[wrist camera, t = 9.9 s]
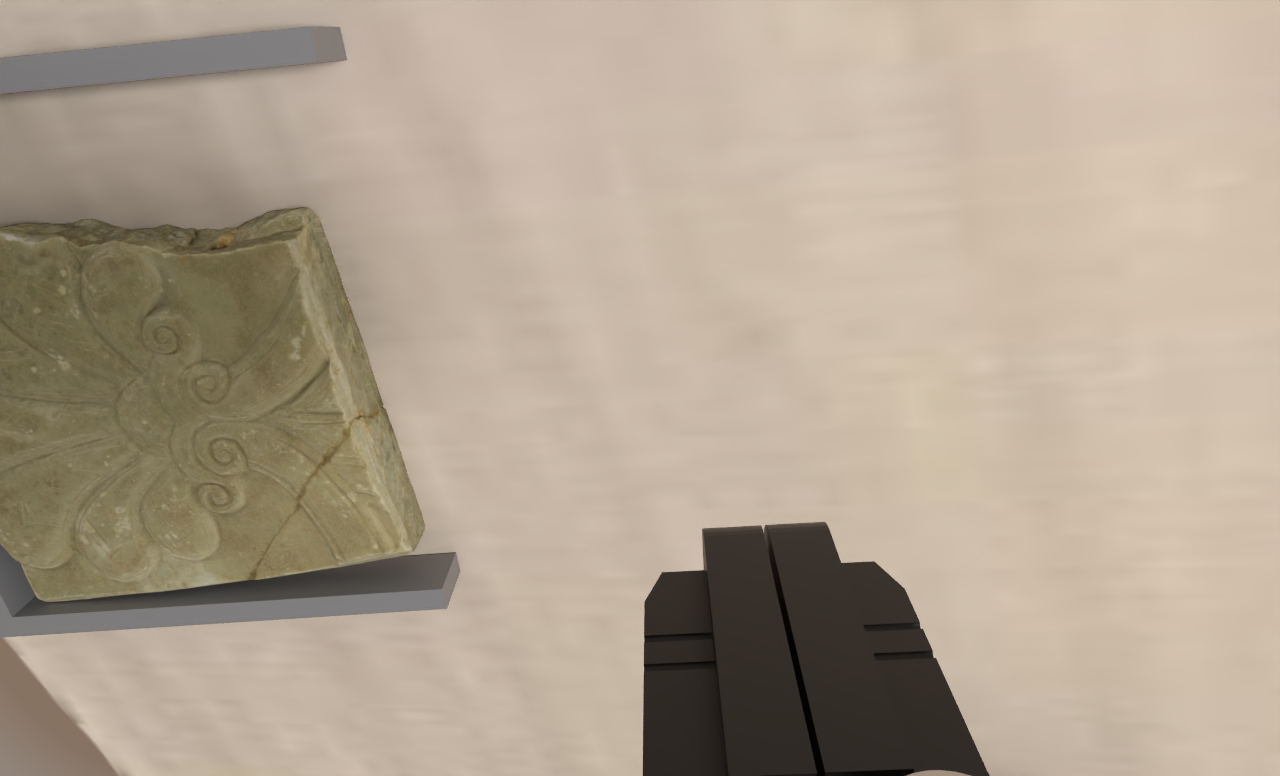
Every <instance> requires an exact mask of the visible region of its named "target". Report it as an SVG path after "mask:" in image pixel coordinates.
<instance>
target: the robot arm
mask: <svg viewBox="0 0 1280 776" xmlns="http://www.w3.org/2000/svg"><path fill="white" fill-rule="evenodd" d="M702 538H703V561H704V570H702V571H682V572H662V574H661V575H660V577H659V579H658V580H657V582H656V584H655V585H654V587H653V589H652V590H651V592H650V594H649V595H648V597H647V599H646V600H645V617H644V639H645V642H644V715H643V776H989V774H988V772H987V770H986V768H985V765H984V763H983V761H982V759H981V757H980V754H979V752H978V750H977V748H976V746H975V743H974V741H973V739H972V737H971V734H970V732H969V730H968V728H967V726H966V723H965V721H964V719H963V717H962V715H961V712H960V710H959V708H958V706H957V704H956V701H955V699H954V697H953V695H952V692H951V690H950V688H949V686H948V684H947V681H946V679H945V677H944V675H943V673H942V670H941V668H940V666H939V664H938V662H937V659H936V658H934V657H933V650H932V648H931V646H930V644H929V642H928V639H927V637H926V635H925V633H924V631H923V629H921V628H920V622H919V619H918V617H917V615H916V613H915V611H914V608H913V606H912V604H911V602H910V600H909V597H908V595H907V593H906V591H905V589H904V588H903V587H902V586H901V585H900V584H899V583H898V582H896V581H895V580H894V579H893V578H892V577H891V576H890V575H889V574H888V573H886V572H885V571H884V570H883V569H882V568H881V567H880V566H879V565H878V564H876V563H875V562H855V563H841V561H840V558H839V556H838V553H837V550H836V547H835V544H834V542H833V539H832V536H831V533H830V530H829V528H828V525H827V524H826V523H825V522H815V523H796V524H777V525H765V528H764V533H763V529H762V527H761V526H744V527H725V528H706V529H702Z"/></svg>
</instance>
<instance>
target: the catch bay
mask: <svg viewBox="0 0 1280 776" xmlns="http://www.w3.org/2000/svg"><path fill="white" fill-rule="evenodd" d="M341 60H347V58H346V53H345V49H344V44H343V40H342V35H341V31H340V27H301V28H291V29H282V30H272V31H262V32H252V33H242V34H232V35H222V36H212V37H202V38H193V39H183V40H173V41H163V42H153V43H143V44H133V45H123V46H113V47H104V48H94V49H84V50H74V51H64V52H54V53H44V54H34V55H24V56H15V57H5V58H0V94H7V93H17V92H27V91H37V90H47V89H57V88H67V87H77V86H88V85H98V84H108V83H118V82H128V81H138V80H148V79H158V78H169V77H179V76H189V75H199V74H209V73H219V72H229V71H239V70H249V69H260V68H270V67H280V66H290V65H300V64H310V63H320V62H330V61H341ZM459 573H460V569H459V565H458V560H457V555H456V553H444V554H429V555H414V556H400V557H393V558H387V559H381V560H376V561H370V562H365V563H359V564H354V565H349V566H343V567H338V568H329V569H323V570H317V571H311V572H305V573H298V574H292V575H286V576H280V577H273V578H266V579H260V580H245V581H238V582H231V583H223V584H216V585H208V586H201V587H194V588H186V589H179V590H171V591H163V592H151V593H138V594H128V595H119V596H109V597H100V598H92V599H80V600H70V601H58V602H45V601H43V600H40V599H38V598H37V596H36V595H35V593H34V591H33V589H32V587H31V585H30V583H29V581H28V579H27V577H26V575H25V573H24V570H23V568H22V565H21V563H20V562H18V561H16V560H15V559H14V558H13V557H12V556H11V555H10V554H9V553H8V552H7V550H6V549H5V548H4V547H3V546H2V545H1V543H0V637H15V636H30V635H46V634H61V633H77V632H92V631H108V630H123V629H139V628H154V627H170V626H185V625H201V624H216V623H232V622H247V621H263V620H279V619H294V618H310V617H325V616H341V615H356V614H372V613H387V612H403V611H418V610H434V609H447V607H448V604H449V601H450V598H451V595H452V592H453V590H454V587H455V584H456V581H457V578H458V576H459Z"/></svg>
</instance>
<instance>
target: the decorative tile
mask: <svg viewBox="0 0 1280 776" xmlns="http://www.w3.org/2000/svg"><path fill="white" fill-rule="evenodd" d="M424 529H425V524H424V520H423V517H422V514H421V510H420V508H419V505H418V502H417V499H416V496H415V493H414V490H413V487H412V485H411V482H410V480H409V477H408V474H407V471H406V468H405V464H404V461H403V458H402V455H401V451H400V448H399V445H398V443H397V440H396V437H395V434H394V431H393V428H392V426H391V423H390V421H389V418H388V415H387V412H386V409H385V408H383V402H382V399H381V396H380V393H379V390H378V387H377V384H376V381H375V378H374V375H373V372H372V368H371V365H370V362H369V358H368V355H367V352H366V349H365V346H364V343H363V340H362V337H361V334H360V332H359V329H358V326H357V324H356V321H355V318H354V315H353V313H352V310H351V307H350V304H349V302H348V299H347V296H346V293H345V291H344V288H343V285H342V282H341V278H340V275H339V272H338V269H337V267H336V264H335V261H334V258H333V255H332V252H331V249H330V246H329V244H328V241H327V239H326V236H325V233H324V230H323V227H322V224H321V222H320V219H319V217H318V216H317V215H316V214H315V213H314V212H313V211H312V210H311V209H310V208H299V209H283V210H277V211H271V212H267V213H266V214H265V215H263V216H260V217H257V218H254V219H252V220H250V221H248V222H245V223H244V224H242V225H241V226H239V227H237V228H224V229H222V230H217V229H201V230H197V229H193V228H190V229H183V228H179V227H174V226H172V225H169V224H167V225H162V226H159V227H157V228H154V229H144V230H130V229H123V228H120V227H116V226H112V225H110V224H107V223H104V222H101V221H98V220H94V219H84V220H80V221H78V222H75V223H72V224H54V225H53V224H50V223H45V224H31V223H30V224H17V225H11V226H6V227H0V543H1V545H2V546H3V547H4V548H5V549H6V550H7V552H8V553H9V554H10V555H11V556H12V557H13V558H14V559H15V560H16V561H18V562H20V563H21V565H22V568H23V570H24V573H25V575H26V577H27V579H28V581H29V583H30V585H31V587H32V589H33V591H34V593H35V595H36V596H37V598H38V599H40V600H43V601H45V602H58V601H70V600H80V599H92V598H100V597H109V596H119V595H128V594H138V593H151V592H163V591H171V590H179V589H186V588H194V587H201V586H208V585H216V584H223V583H231V582H238V581H245V580H260V579H266V578H273V577H280V576H286V575H292V574H298V573H305V572H311V571H317V570H323V569H329V568H338V567H343V566H349V565H354V564H359V563H365V562H370V561H376V560H381V559H387V558H393V557H399V556H404V555H407V554H409V553H411V552H413V551H414V550H415V548H416V546H417V544H418V542H419V540H420V538H421V536H422V534H423V531H424Z"/></svg>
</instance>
